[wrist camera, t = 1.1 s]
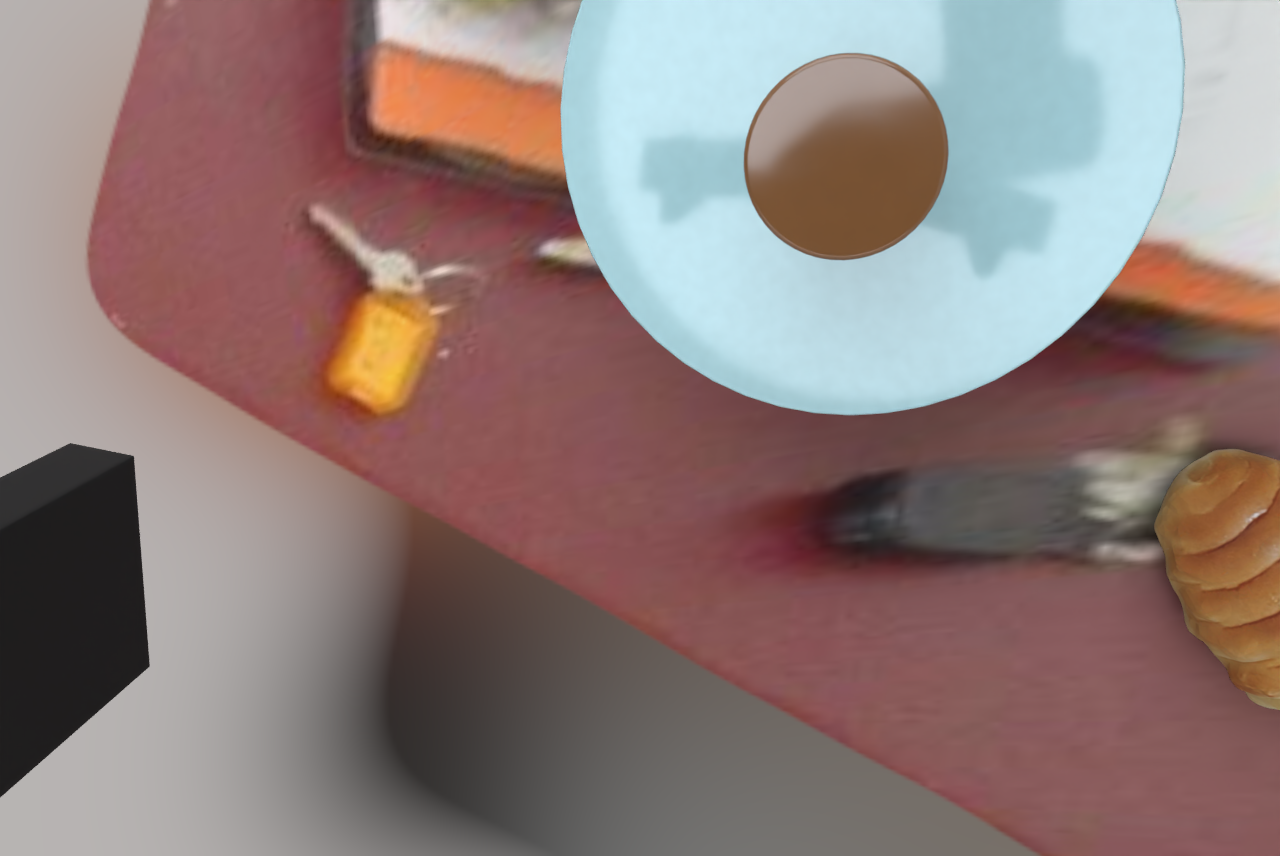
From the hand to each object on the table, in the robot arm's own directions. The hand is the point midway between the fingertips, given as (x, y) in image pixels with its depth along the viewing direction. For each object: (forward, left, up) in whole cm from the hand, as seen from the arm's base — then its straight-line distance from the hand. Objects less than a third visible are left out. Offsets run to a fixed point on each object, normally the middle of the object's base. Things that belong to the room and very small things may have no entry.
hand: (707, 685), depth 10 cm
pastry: (-17, +9, -25) cm, 31 cm away
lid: (-1, -5, -17) cm, 18 cm away
